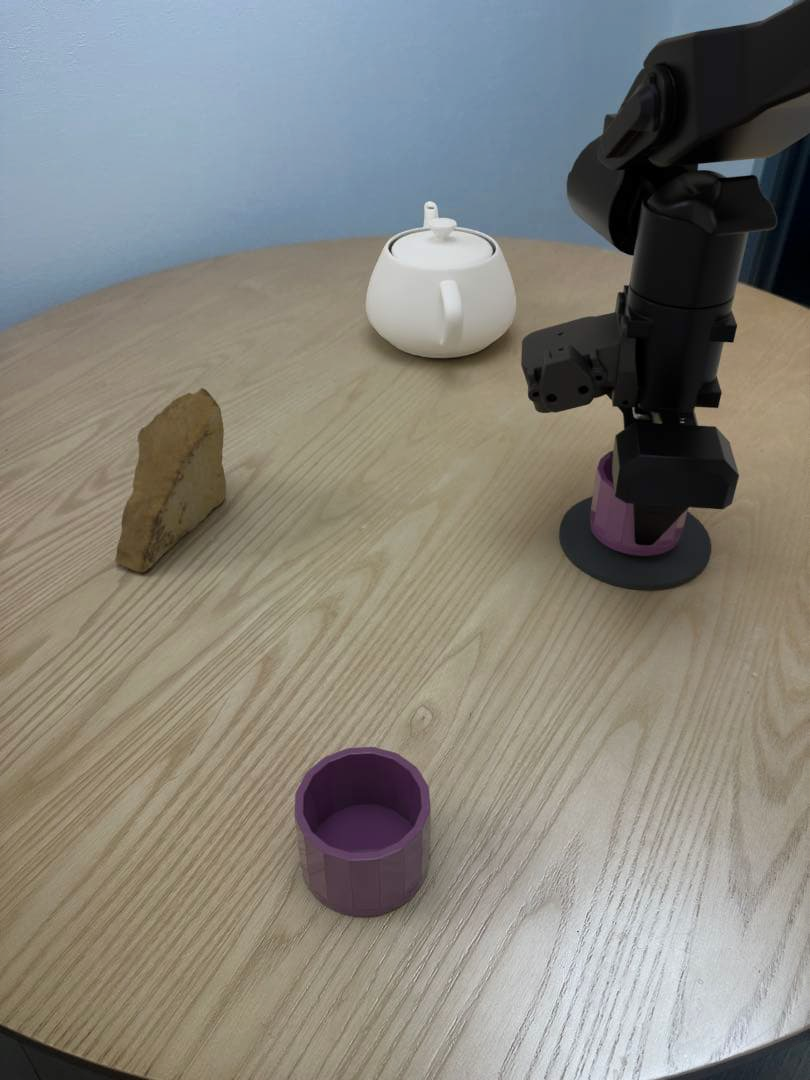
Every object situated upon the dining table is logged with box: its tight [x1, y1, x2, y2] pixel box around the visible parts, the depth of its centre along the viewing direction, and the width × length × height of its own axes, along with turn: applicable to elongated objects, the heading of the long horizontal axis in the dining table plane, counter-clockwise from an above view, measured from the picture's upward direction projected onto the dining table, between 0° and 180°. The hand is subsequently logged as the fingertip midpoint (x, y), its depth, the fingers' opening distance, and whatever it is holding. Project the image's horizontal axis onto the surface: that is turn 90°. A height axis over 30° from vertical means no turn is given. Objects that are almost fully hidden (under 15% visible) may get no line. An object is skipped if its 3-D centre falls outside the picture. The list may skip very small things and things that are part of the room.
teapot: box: [365, 201, 517, 359], centre depth 85 cm, size 22×14×11 cm, turn 4°
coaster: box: [558, 495, 712, 591], centre depth 63 cm, size 10×10×1 cm
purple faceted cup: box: [293, 746, 432, 918], centre depth 43 cm, size 6×6×4 cm
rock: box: [114, 387, 227, 574], centre depth 63 cm, size 11×9×10 cm
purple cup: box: [590, 449, 689, 556], centre depth 61 cm, size 6×6×4 cm
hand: (639, 513), depth 62 cm, fingers closed on purple cup, 6 cm apart
